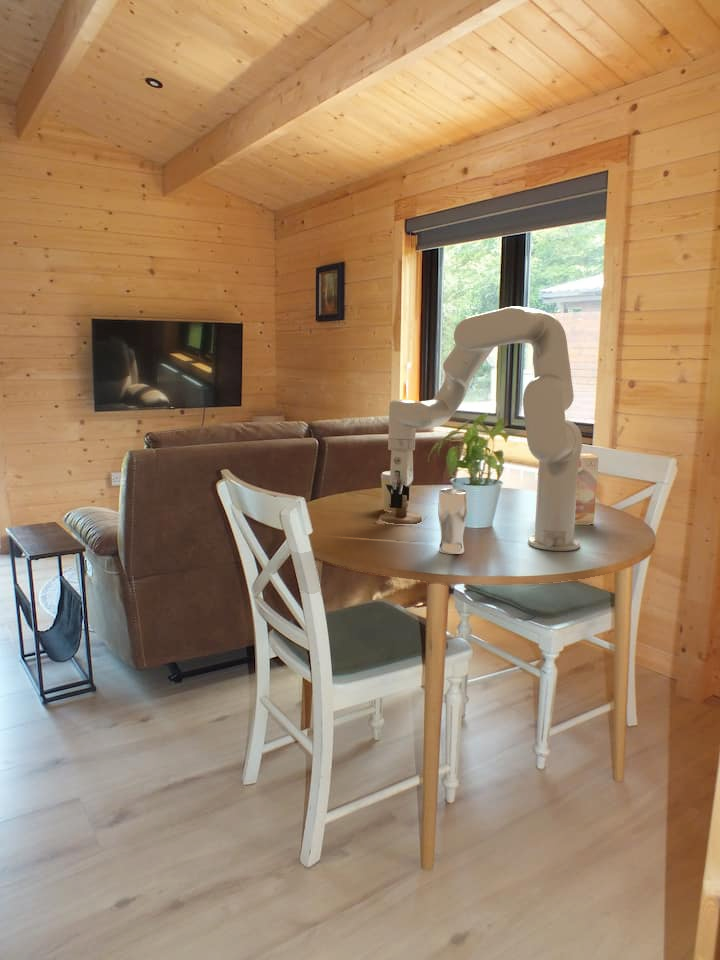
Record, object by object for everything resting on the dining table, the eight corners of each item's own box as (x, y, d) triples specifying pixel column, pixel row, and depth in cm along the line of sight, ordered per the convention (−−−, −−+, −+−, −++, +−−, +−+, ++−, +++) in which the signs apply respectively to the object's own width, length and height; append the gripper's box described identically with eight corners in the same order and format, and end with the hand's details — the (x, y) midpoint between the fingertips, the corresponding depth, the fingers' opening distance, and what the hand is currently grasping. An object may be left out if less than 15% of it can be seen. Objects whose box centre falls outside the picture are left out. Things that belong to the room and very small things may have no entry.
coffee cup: (385, 516, 209) (385, 476, 206) (376, 509, 217) (377, 471, 215) (415, 515, 211) (416, 475, 209) (406, 508, 220) (406, 470, 217)
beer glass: (470, 554, 170) (472, 493, 167) (443, 556, 168) (445, 494, 165) (458, 546, 177) (460, 487, 174) (432, 548, 175) (434, 489, 172)
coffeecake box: (541, 525, 199) (545, 456, 195) (535, 519, 206) (538, 452, 202) (594, 525, 199) (599, 456, 196) (586, 519, 206) (590, 453, 203)
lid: (417, 526, 194) (418, 501, 193) (375, 523, 197) (375, 498, 196) (425, 516, 206) (425, 493, 204) (385, 514, 209) (385, 490, 208)
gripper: (408, 449, 189) (407, 511, 192) (420, 441, 205) (418, 499, 208) (381, 447, 190) (380, 509, 194) (395, 439, 207) (393, 497, 210)
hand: (400, 504), depth 201 cm, fingers open, 9 cm apart
